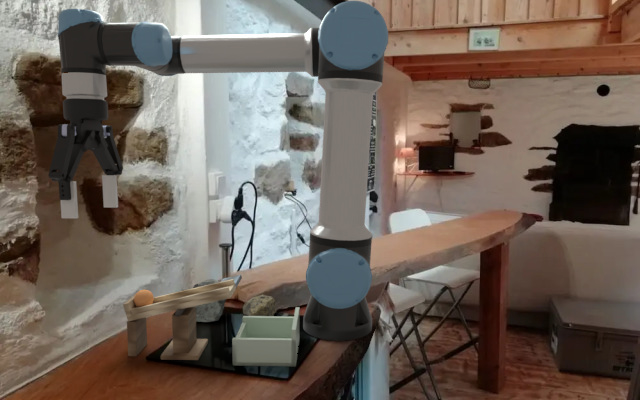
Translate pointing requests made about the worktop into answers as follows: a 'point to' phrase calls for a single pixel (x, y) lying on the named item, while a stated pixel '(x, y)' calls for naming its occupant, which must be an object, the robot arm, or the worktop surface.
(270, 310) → the rock
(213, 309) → the stone
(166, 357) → the fulcrum
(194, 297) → the lever
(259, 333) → the bin
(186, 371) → the worktop surface
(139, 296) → the brown egg
